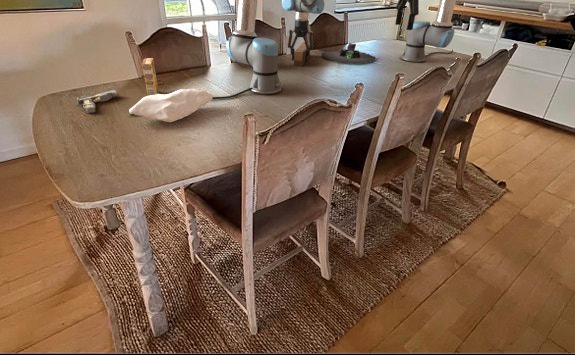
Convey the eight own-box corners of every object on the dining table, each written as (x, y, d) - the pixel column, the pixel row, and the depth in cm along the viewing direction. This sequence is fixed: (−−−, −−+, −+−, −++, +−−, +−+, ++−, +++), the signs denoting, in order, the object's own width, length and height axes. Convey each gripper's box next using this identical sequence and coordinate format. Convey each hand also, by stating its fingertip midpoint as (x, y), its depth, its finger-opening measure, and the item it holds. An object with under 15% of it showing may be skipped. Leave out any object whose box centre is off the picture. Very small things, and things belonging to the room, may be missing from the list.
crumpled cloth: (117, 110, 146) (113, 90, 140) (195, 92, 166) (194, 73, 160) (143, 139, 134) (140, 118, 128) (223, 116, 154) (224, 96, 148)
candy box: (157, 97, 164) (152, 63, 155) (147, 98, 163) (141, 63, 155) (158, 91, 171) (153, 57, 163) (149, 91, 170) (143, 58, 162)
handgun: (128, 97, 156) (111, 87, 164) (86, 107, 144) (70, 97, 152) (129, 103, 157) (113, 94, 165) (88, 114, 146) (72, 103, 154)
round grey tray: (386, 59, 233) (388, 44, 229) (346, 66, 216) (347, 50, 211) (349, 51, 258) (350, 37, 253) (310, 56, 240) (311, 42, 236)
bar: (302, 66, 215) (302, 52, 211) (293, 65, 216) (294, 51, 212) (310, 55, 236) (310, 42, 232) (302, 55, 237) (303, 42, 233)
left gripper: (320, 20, 207) (317, 60, 219) (285, 17, 210) (284, 57, 223) (318, 22, 201) (315, 64, 213) (282, 19, 204) (281, 60, 216)
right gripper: (433, -18, 163) (421, 32, 174) (408, -23, 183) (400, 22, 195) (417, -19, 162) (407, 32, 173) (394, -23, 182) (386, 22, 194)
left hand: (299, 60), depth 218 cm, fingers open, 7 cm apart
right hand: (403, 27), depth 184 cm, fingers open, 13 cm apart
